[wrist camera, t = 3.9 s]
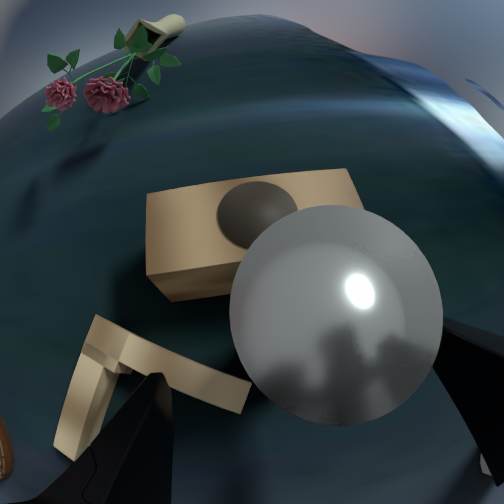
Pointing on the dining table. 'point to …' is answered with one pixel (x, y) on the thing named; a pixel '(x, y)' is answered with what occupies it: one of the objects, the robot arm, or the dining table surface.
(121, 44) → the flower vase
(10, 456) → the food container
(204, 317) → the dining table surface
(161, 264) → the beam
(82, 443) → the v cradle
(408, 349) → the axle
